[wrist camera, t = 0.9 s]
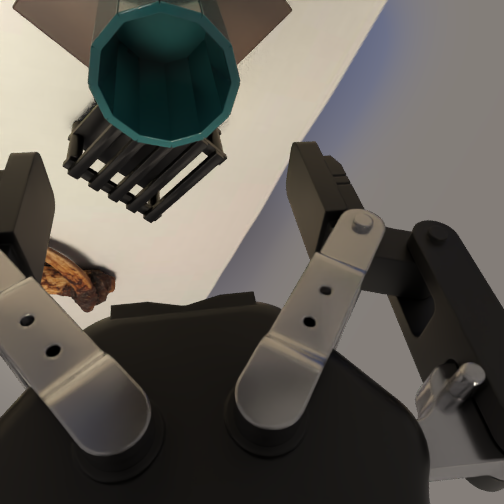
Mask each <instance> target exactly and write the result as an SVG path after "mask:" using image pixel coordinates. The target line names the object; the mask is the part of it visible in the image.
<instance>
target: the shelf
mask: <svg viewBox="0 0 504 504" xmlns="http://www.w3.org/2000/svg"><path fill="white" fill-rule="evenodd" d="M216 1H217V4H218V7H219V9H220V12H221V15H222V18H223V21H224V24H225V27H226V29H227V32H228V35H229V38H230V41H231V44H232V46H233V51H234V55H235V60H236V64H238V63H239V62H240V61H242V60H243V59H244V58H245V57H246V56H247V55H248V54H249V53H250V52H251V51H252V50H253V49H254V48H255V47H256V46H257V45H258V44H259V43H260V42H261V41H262V40H263V39H264V38H265V37H266V36H267V35H268V34H269V33H270V32H271V31H272V30H273V29H274V28H275V27H276V26H277V25H278V24H279V23H280V22H281V21H282V20H283V19H284V18H285V17H286V16H287V15H288V14H289V13H290V12H291V11H292V9H291V7H290V6H289V4H288V2H287V1H286V0H216ZM98 2H99V0H16V1H15V3H14V5H13V9H14V10H15V11H17V12H18V13H19V14H20V15H22V16H23V17H24V18H26V19H27V20H28V21H29V22H31V23H32V24H33V25H35V26H36V27H37V28H38V29H40V30H41V31H42V32H44V33H45V34H46V35H47V36H49V37H50V38H51V39H52V40H54V41H55V42H56V43H58V44H59V45H60V46H61V47H63V48H64V49H65V50H67V51H68V52H69V53H70V54H72V55H73V56H74V57H76V58H77V59H78V60H79V61H81V62H82V63H83V64H84V65H86V66H87V67H88V68H89V60H90V47H91V41H92V36H93V30H94V25H95V19H96V14H97V8H98Z"/></svg>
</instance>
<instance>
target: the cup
mask: <svg viewBox="0 0 504 504" xmlns="http://www.w3.org/2000/svg"><path fill="white" fill-rule="evenodd" d="M88 84H89V89H90V91H91V92H92V94H93V96H94V98H95V100H96V102H97V104H98V106H99V108H100V110H101V112H102V114H103V116H104V118H105V119H107V121H108V122H109V123H111V124H112V125H113V126H115V127H116V128H118V129H119V130H120V131H122V132H123V133H125V134H126V135H127V136H129V137H130V138H132V139H133V140H134V141H136V140H137V142H140V143H145V144H151V145H157V146H162V147H168V148H171V146H172V148H174V147H178V146H181V145H185V144H189V143H192V142H196V141H200V140H203V139H204V138H207V137H208V136H209V135H210V134H211V133H212V132H213V131H214V130H215V129H216V128H217V127H218V126H219V125H221V124H222V123H223V122H224V121H225V120H226V119H227V118H228V117H229V115H230V114H231V111H232V108H233V104H234V101H235V98H236V95H237V92H238V89H239V86H240V77H239V73H238V68H237V64H236V60H235V55H234V51H233V46H232V44H231V41H230V38H229V35H228V32H227V29H226V27H225V24H224V21H223V18H222V15H221V12H220V9H219V7H218V4H217V1H216V0H99V2H98V8H97V14H96V19H95V25H94V30H93V36H92V41H91V47H90V60H89V73H88Z"/></svg>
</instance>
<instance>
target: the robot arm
mask: <svg viewBox="0 0 504 504" xmlns="http://www.w3.org/2000/svg"><path fill="white" fill-rule="evenodd" d="M286 191H287V196H288V199H289V202H290V205H291V208H292V211H293V214H294V216H295V219H296V222H297V225H298V228H299V230H300V233H301V236H302V239H303V242H304V244H305V247H306V250H307V253H308V255H309V258H310V262H309V264H308V266H307V267H306V269H305V271H304V272H303V274H302V276H301V278H300V279H299V281H298V283H297V285H296V286H295V288H294V289H293V291H292V293H291V295H290V296H289V298H288V300H287V302H286V303H285V305H284V307H283V308H282V309H280V308H278V307H276V306H273V305H270V304H266V303H262V302H256V301H255V296H254V292H243V293H233V294H223V295H218V296H215V297H211V298H208V299H205V300H202V301H199V302H196V303H193V304H190V305H186V306H180V305H171V304H162V303H153V302H141V303H131V304H121V305H111V316H110V317H107V318H104V319H102V320H100V321H98V322H96V323H94V324H92V325H90V326H88V327H87V328H86V329H84V330H82V329H81V328H80V327H79V326H78V324H77V323H76V322H75V321H74V320H73V319H72V318H71V317H70V316H69V315H68V314H67V313H66V312H65V311H64V310H63V308H62V307H61V306H60V305H59V304H58V303H57V302H56V301H55V300H54V299H53V298H52V297H51V296H50V295H49V294H48V292H47V291H46V290H45V289H44V288H43V287H42V286H41V285H40V284H41V279H42V274H43V269H44V264H45V259H46V254H47V248H48V243H49V238H50V233H51V228H52V223H53V218H54V213H55V199H54V194H53V190H52V187H51V185H50V182H49V179H48V176H47V173H46V170H45V167H44V164H43V161H42V158H41V156H40V154H39V153H38V152H28V153H11V154H10V156H9V159H8V162H7V164H6V167H5V170H0V356H1V357H2V358H3V360H4V361H5V362H6V363H7V365H8V366H9V368H10V369H11V370H12V372H13V373H14V374H15V376H16V377H17V378H18V380H19V381H20V383H21V384H22V385H23V386H24V388H25V389H26V390H25V391H24V392H23V394H22V395H21V396H20V397H19V398H18V399H17V400H16V401H15V402H14V403H13V405H11V407H10V408H9V409H8V410H7V411H6V412H5V413H4V414H3V415H2V416H1V417H0V504H430V501H429V482H431V481H440V480H449V479H459V478H466V480H468V481H469V482H470V483H471V484H472V485H474V486H475V487H477V488H479V489H481V490H485V491H489V492H495V491H499V490H501V489H503V488H504V309H503V307H502V305H501V304H500V302H499V301H498V299H497V297H496V296H495V294H494V293H493V291H492V289H491V288H490V286H489V285H488V283H487V281H486V280H485V278H484V276H483V275H482V273H481V272H480V270H479V268H478V267H477V265H476V263H475V262H474V260H473V259H472V257H471V255H470V254H469V252H468V251H467V249H466V247H465V246H464V244H463V242H462V241H461V239H460V238H459V236H458V235H457V233H456V232H455V231H454V230H453V229H452V228H450V227H449V226H447V225H445V224H443V223H440V222H437V221H428V220H427V221H421V222H419V223H417V224H416V225H415V226H414V228H413V230H412V232H410V231H404V230H397V229H393V228H388V227H385V224H384V222H383V220H382V219H381V218H380V217H379V216H378V215H376V214H374V213H373V212H370V211H368V210H365V209H364V207H363V206H362V204H361V202H360V200H359V198H358V196H357V194H356V192H355V190H354V188H353V186H352V185H351V184H350V181H349V179H348V177H347V176H346V173H345V171H344V169H343V167H342V165H341V164H340V163H339V162H338V161H336V160H335V159H334V158H333V157H331V156H323V155H322V153H321V151H320V149H319V147H318V145H317V143H316V142H315V141H312V142H294V143H293V144H292V147H291V153H290V159H289V166H288V172H287V180H286ZM361 290H364V291H370V292H375V293H381V294H387V296H388V298H389V300H390V303H391V305H392V308H393V310H394V313H395V315H396V318H397V320H398V323H399V325H400V327H401V330H402V332H403V335H404V337H405V340H406V342H407V345H408V347H409V350H410V352H411V354H412V357H413V359H414V362H415V364H416V366H417V369H418V372H419V374H420V377H421V379H422V381H423V384H422V386H421V387H420V388H419V390H418V391H417V394H416V399H415V400H416V407H417V412H418V419H415V417H414V416H413V414H412V413H411V412H410V411H409V410H408V408H407V407H406V406H405V405H404V404H402V403H401V402H400V401H399V400H398V399H397V398H395V397H394V396H392V394H390V393H389V392H388V391H386V390H385V389H384V388H383V387H381V386H380V385H379V384H378V383H376V382H375V381H374V380H373V379H371V378H370V377H369V376H368V375H366V374H365V373H364V372H362V371H361V370H360V369H359V368H358V367H356V366H355V365H354V364H352V363H351V362H350V361H349V360H347V359H346V358H345V357H344V356H342V355H341V354H340V353H339V352H337V351H336V348H337V346H338V344H339V341H340V339H341V336H342V334H343V332H344V329H345V327H346V325H347V322H348V320H349V318H350V316H351V313H352V311H353V308H354V306H355V304H356V302H357V300H358V297H359V295H360V293H361Z"/></svg>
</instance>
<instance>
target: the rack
mask: <svg viewBox="0 0 504 504" xmlns="http://www.w3.org/2000/svg"><path fill="white" fill-rule="evenodd" d="M220 135H221V131H220V130H219V129H218V127H217V128H216V129H215V130H214V131H213V132H212V133H211V134H210V135H209V136H208V137H207V138H204V139H203V140H200V141H196V142H192V143H189V144H185V145H181V146H178V147H174V148H172V146H171V148H168V147H162V146H157V145H151V144H145V143H140V142H137V140H136V141H134V140H133V139H132V138H130V137H129V136H127V135H126V134H125V133H123V132H122V131H120V130H119V129H118V128H116V127H115V126H113V125H112V124H111V123H109V122H108V121H107V119H105V118H104V116H103V114H102V112H101V110H100V108H99V106H98V104H97V105H96V106H95V107H94V108H93V109H92V110H91V112H90V113H89V114H88V115H87V116H86V117H85V118H84V119H83V121H82V122H81V121H76V122H74V123H73V127H72V132H71V134H70V135H69V137H68V140H69V141H70V142H69V148H68V153H67V158H66V160H65V161H64V162H63V167H65V168H66V169H68V173H67V174H69V175H70V176H72V177H74V178H75V179H77V180H78V179H79V178H80V177H81V178H83V179H85V180H86V181H88V182H89V184H88V186H89V187H91V188H92V189H94V190H96V191H99V190H100V189H101V190H103V191H105V192H106V193H108V198H109V199H111V200H113V201H115V202H116V203H117V202H118V201H119V200H120V201H122V202H123V203H125V204H126V209H128V210H130V211H131V212H133V213H135V212H137V211H138V212H140V213H142V214H143V218H144V219H145V220H147V221H149V222H150V223H152V222H153V221H156V220H157V219H159V218H160V217H161V216H162V213H163V212H165V211H166V210H167V209H168V208H169V207H170V206H171V205H173V204H174V203H175V202H176V201H177V200H178V199H179V198H181V197H182V196H183V195H184V194H185V193H186V192H187V191H188V190H190V189H191V188H192V187H193V186H194V185H195V184H196V183H198V182H199V181H200V180H201V179H202V178H203V177H204V176H206V175H207V174H208V173H209V172H210V171H211V170H212V169H214V168H215V167H216V166H217V165H218V164H219V165H220V164H221V163H223V162H224V161H225V160H226V159H227V156H226V154H225V153H223V149H222V144H221V140H220ZM83 150H85V152H84V153H83ZM201 152H204V153H205V154H206V155H207V156H208V157H207V158H206V159H205V160H204V161H202V162H201V163H200V164H199V165H198V166H197V167H196V168H195V169H194V170H192V171H191V172H190V173H189V174H188V175H187V176H186V177H185V178H184V179H182V180H181V181H180V182H179V183H178V184H177V185H176V186H175V187H174V188H172V189H171V190H170V191H169V192H168V193H167V194H166V195H165V196H164V197H162V198H161V199H160V193H159V191H160V190H161V189H162V188H163V187H164V186H165V185H166V184H167V183H168V182H169V181H171V180H172V179H173V178H174V177H175V176H176V175H177V174H178V173H179V172H180V171H181V170H183V169H184V168H185V167H186V166H187V165H188V164H189V163H190V162H191V161H192V160H194V159H195V158H196V157H197V156H198V155H199V154H200V153H201ZM82 153H83V154H82ZM97 159H99V160H100V161H102V162H103V163H105V164H106V165H105V166H104V167H103V168H102V169H101V170H100V171H99V172H96V171H94V170H93V169H91V168H89V167H90V166H91V165H92V164H93V163H94V162H95V161H96V160H97ZM117 172H119V173H120V174H122V175H124V176H125V178H124V179H123V180H122V181H121V182H120V183H119V184H115V183H114V182H112V181H110V179H111V178H112V177H113V176H114V175H115V174H116V173H117ZM136 184H138V185H139V186H141V187H142V188H143V189H142V190H141V191H140V192H139V193H138V194H137V195H136V196H135V195H133V194H131V193H130V192H129V191H130V190H131V189H132V188H133V187H134V186H135V185H136ZM147 201H148V203H146V202H147Z"/></svg>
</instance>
